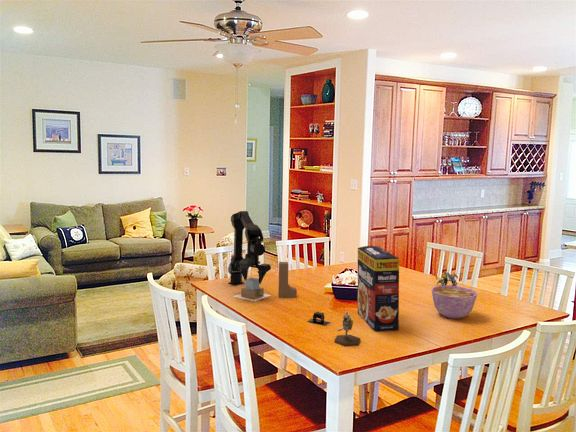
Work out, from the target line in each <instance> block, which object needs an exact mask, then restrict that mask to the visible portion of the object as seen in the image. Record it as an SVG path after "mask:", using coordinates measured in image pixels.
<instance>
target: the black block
mask: <svg viewBox="0 0 576 432" xmlns="http://www.w3.org/2000/svg"><path fill="white" fill-rule="evenodd" d="M306 323H309V324H310V323H311V324H315V325H319V326H324V327H326V326H328V325H329V324H331V321H326V320H325V312H319V311H315V312H314V313H313V315H312V318H311V319H310V318H309V320H307V321H306Z"/></svg>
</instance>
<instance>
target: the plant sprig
mask: <svg viewBox="0 0 576 432" xmlns="http://www.w3.org/2000/svg"><path fill="white" fill-rule="evenodd" d="M443 274H444V276H443V278H440V279H439V278H438V276H435V281H436V280H438V281H437V282H436V285H439V284H440V286H448V282H451V284H452V285H451V286H457V285H458V282H457V280H456V279H459V277H458V275H457V274H456V273H455V272H453V276H452V274H451V273H450V272H448V271H446V270H444V272H443ZM455 278H456V279H455Z"/></svg>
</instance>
